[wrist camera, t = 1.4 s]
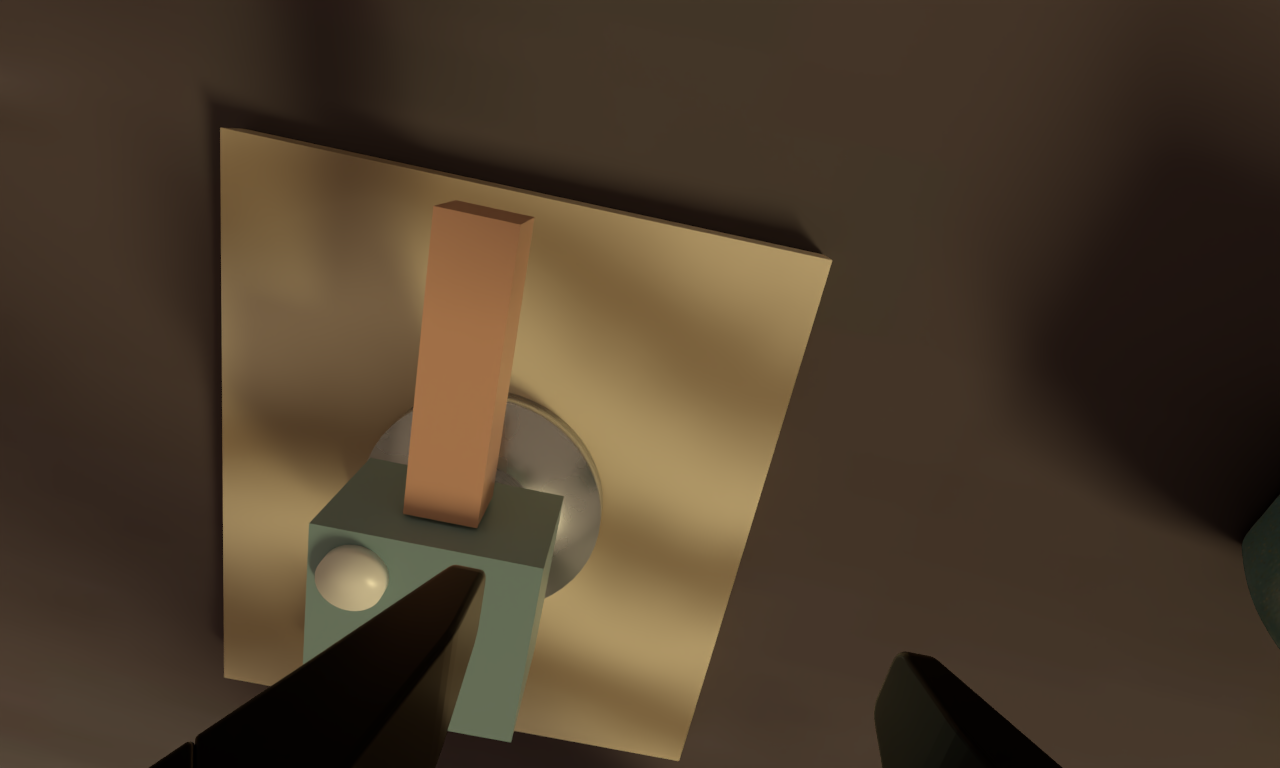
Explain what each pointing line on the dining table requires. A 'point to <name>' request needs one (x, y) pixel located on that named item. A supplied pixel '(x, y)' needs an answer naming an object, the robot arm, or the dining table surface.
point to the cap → (449, 479)
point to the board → (542, 371)
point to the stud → (536, 476)
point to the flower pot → (1265, 568)
